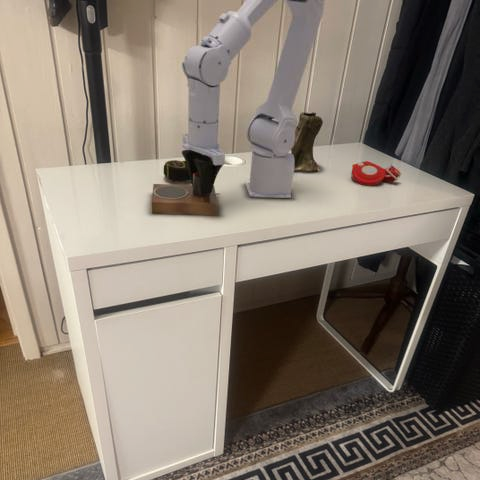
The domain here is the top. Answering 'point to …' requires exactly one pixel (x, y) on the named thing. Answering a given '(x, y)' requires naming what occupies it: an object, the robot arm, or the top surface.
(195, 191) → the dial
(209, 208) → the warmer
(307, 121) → the tree stump
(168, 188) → the heating plate
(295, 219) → the top surface
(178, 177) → the tape measure
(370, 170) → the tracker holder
